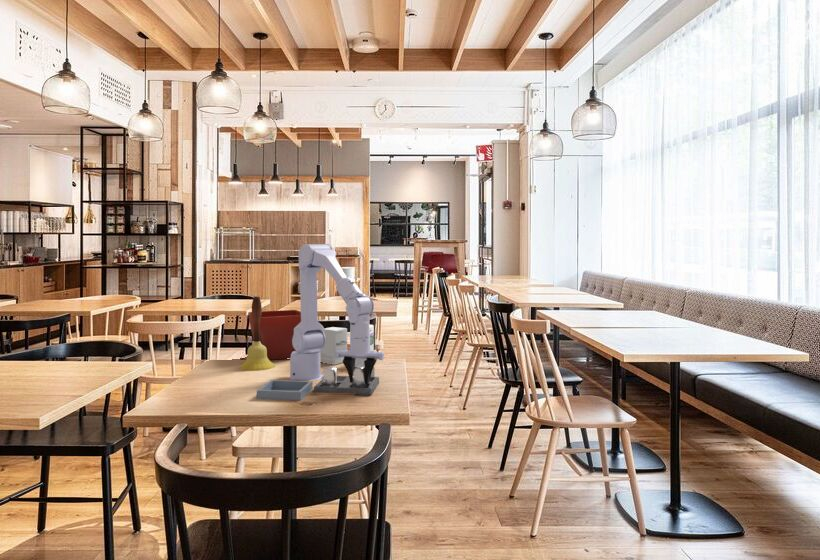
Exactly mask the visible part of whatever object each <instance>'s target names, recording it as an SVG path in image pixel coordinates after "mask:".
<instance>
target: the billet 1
mask: <svg viewBox="0 0 820 560" xmlns="http://www.w3.org/2000/svg"><path fill="white" fill-rule="evenodd" d="M322 372H323V373H322V374H323V377H322V379H323V387H337V376H338V368H337V367H336V366H325V367H323V371H322Z"/></svg>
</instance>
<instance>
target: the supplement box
mask: <svg viewBox="0 0 820 560" xmlns="http://www.w3.org/2000/svg"><path fill="white" fill-rule="evenodd" d="M324 334H325V336H326V343H325V346H324V347H323V348H322V351H320V362H323V363H322V364H325V363H327V364H326V365H331V364H332V366H336V365H339V364H342V363H343V360H344V358H343V357H339V358H336V351H337V350H348V328H346V327H338V326H337V327H335V326H331V327H326V328H324Z"/></svg>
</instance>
